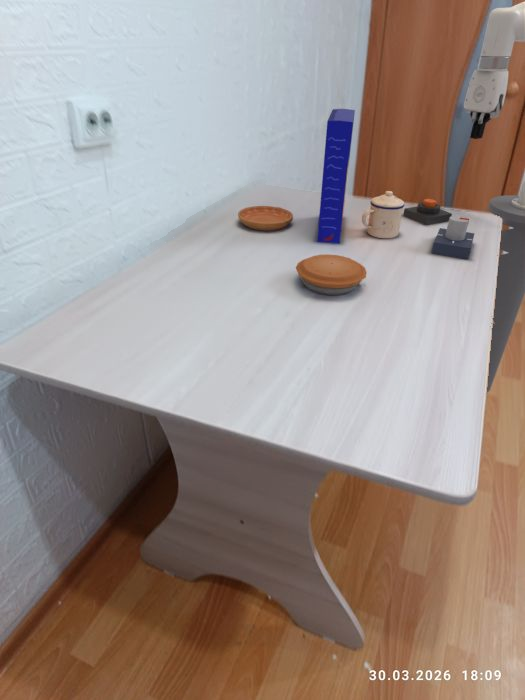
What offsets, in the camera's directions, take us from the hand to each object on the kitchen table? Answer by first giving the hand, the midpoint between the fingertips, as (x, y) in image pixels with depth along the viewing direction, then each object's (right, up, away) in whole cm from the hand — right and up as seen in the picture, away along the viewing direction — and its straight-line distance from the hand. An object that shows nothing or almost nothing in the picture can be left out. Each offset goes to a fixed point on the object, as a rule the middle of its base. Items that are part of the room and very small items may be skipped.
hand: (476, 138), depth 138 cm
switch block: (-11, -20, +10) cm, 25 cm away
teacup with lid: (-29, -29, -3) cm, 41 cm away
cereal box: (-42, -27, -1) cm, 50 cm away
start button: (-11, -17, +8) cm, 22 cm away
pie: (-47, -47, -31) cm, 73 cm away
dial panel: (-11, -34, -11) cm, 38 cm away
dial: (-11, -32, -13) cm, 36 cm away
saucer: (-61, -24, +2) cm, 66 cm away
